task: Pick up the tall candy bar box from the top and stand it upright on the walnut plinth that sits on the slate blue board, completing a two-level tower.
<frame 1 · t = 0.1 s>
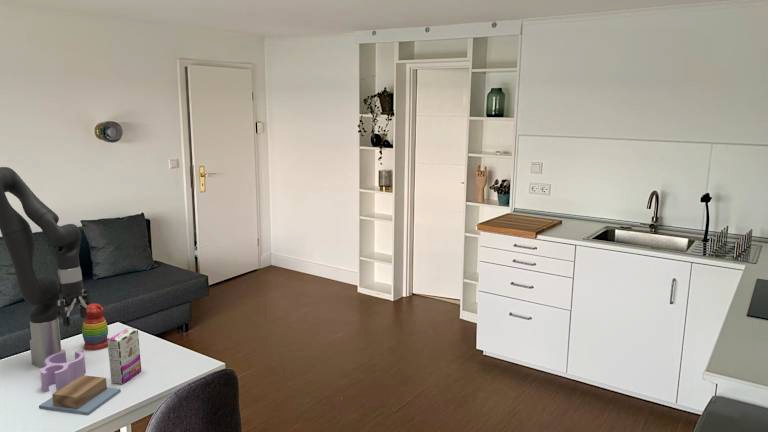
hand: (75, 321, 217), 17 cm above the table, tool pointing down, fingers open, 8 cm apart
slate blue board: (81, 399, 195), on the table
candy bar box: (126, 377, 212), on the table
stacking bear: (97, 346, 239), on the table
walnut plinth: (80, 391, 195), on the slate blue board, point 3 cm above the table
clip: (63, 379, 210), on the table
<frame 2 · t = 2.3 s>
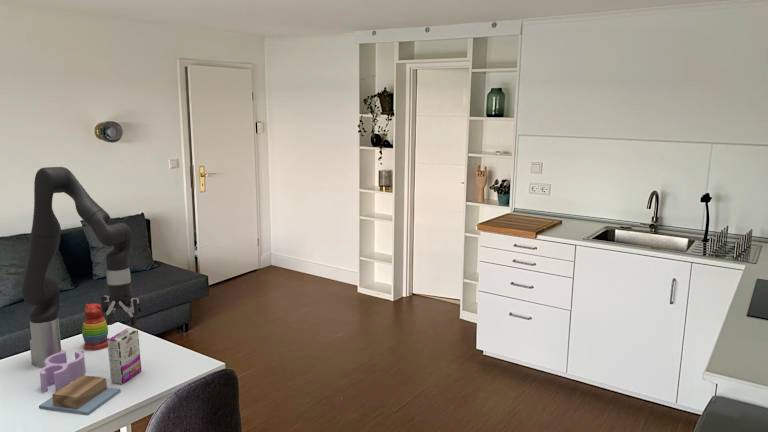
hand: (122, 325, 208), 20 cm above the table, tool pointing down, fingers open, 8 cm apart
nothing on the table moved.
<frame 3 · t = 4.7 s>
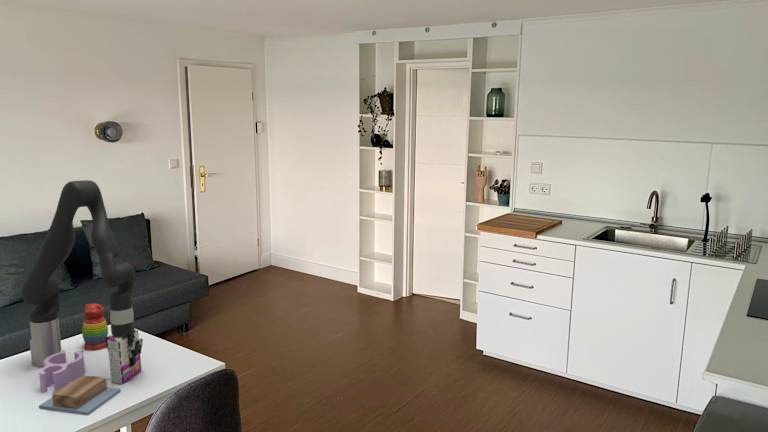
hand: (125, 365, 211), 5 cm above the table, tool pointing down, fingers closed on candy bar box, 5 cm apart
candy bar box: (126, 377, 212), on the table, touching gripper
everything else where it was.
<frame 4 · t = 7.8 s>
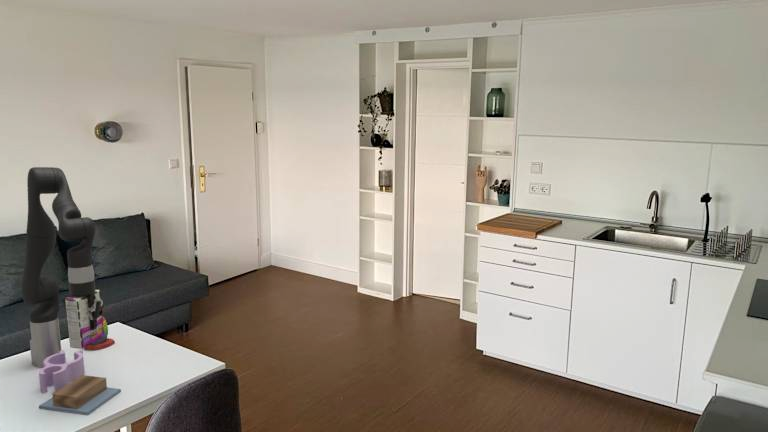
hand: (85, 328, 194), 24 cm above the table, tool pointing down, fingers closed on candy bar box, 5 cm apart
candy bar box: (87, 342, 195), point 19 cm above the table, touching gripper
everything else where it was.
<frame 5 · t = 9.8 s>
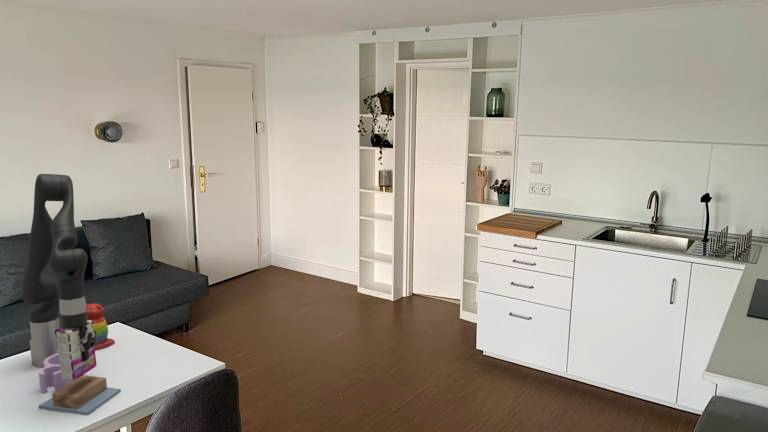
hand: (77, 359, 193), 14 cm above the table, tool pointing down, fingers closed on candy bar box, 5 cm apart
candy bar box: (78, 373, 194), point 9 cm above the table, touching gripper
everything else where it was.
when the fingers open (11 cm above the table, at t = 11.3 s): candy bar box drops 1 cm, resting on walnut plinth.
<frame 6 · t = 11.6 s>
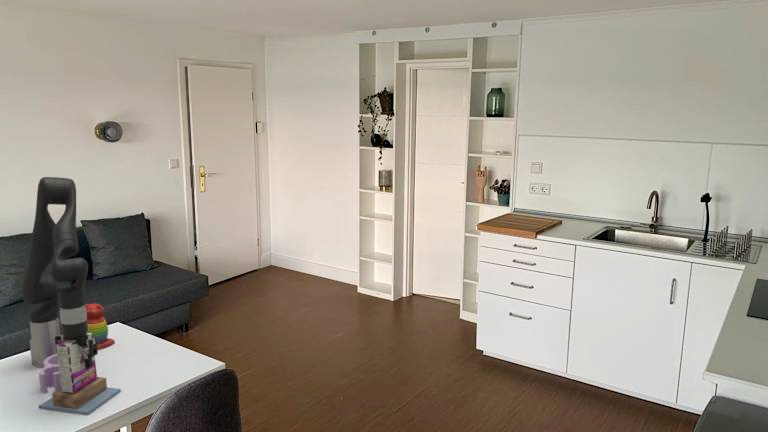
hand: (78, 367, 193), 12 cm above the table, tool pointing down, fingers open, 7 cm apart
candy bar box: (79, 386, 195), point 5 cm above the table, touching walnut plinth
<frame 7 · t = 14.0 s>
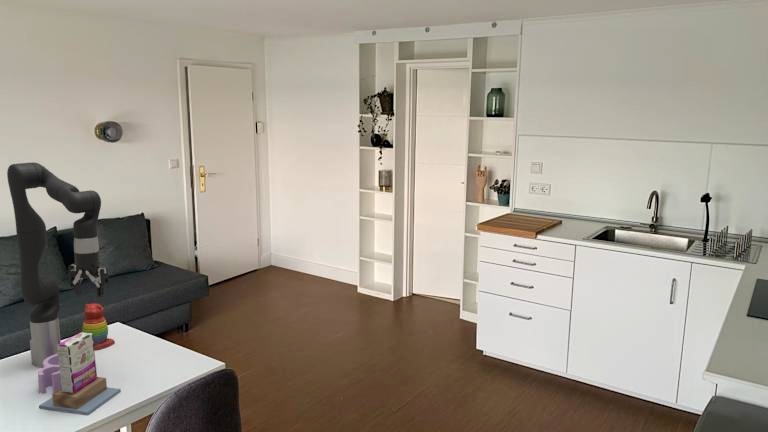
hand: (89, 295, 203), 31 cm above the table, tool pointing down, fingers open, 8 cm apart
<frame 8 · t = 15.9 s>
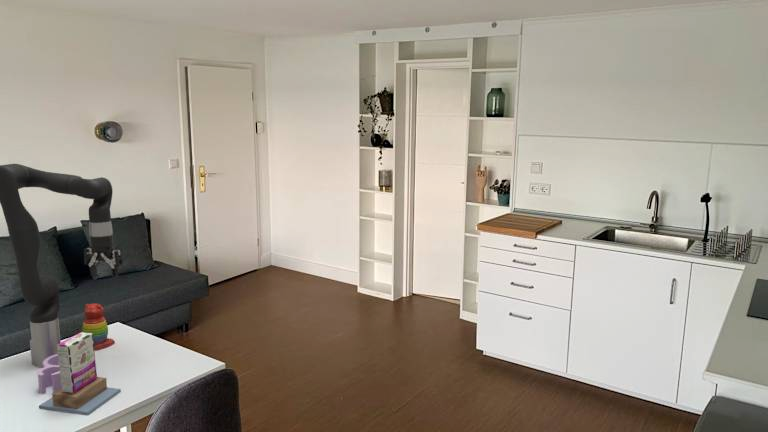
hand: (104, 276, 216), 34 cm above the table, tool pointing down, fingers open, 8 cm apart
at the end: candy bar box 0.2 cm off-centre on the walnut plinth, point 4.8 cm above the walnut plinth's base; candy bar box tilted 0°; the gripper is holding nothing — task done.
